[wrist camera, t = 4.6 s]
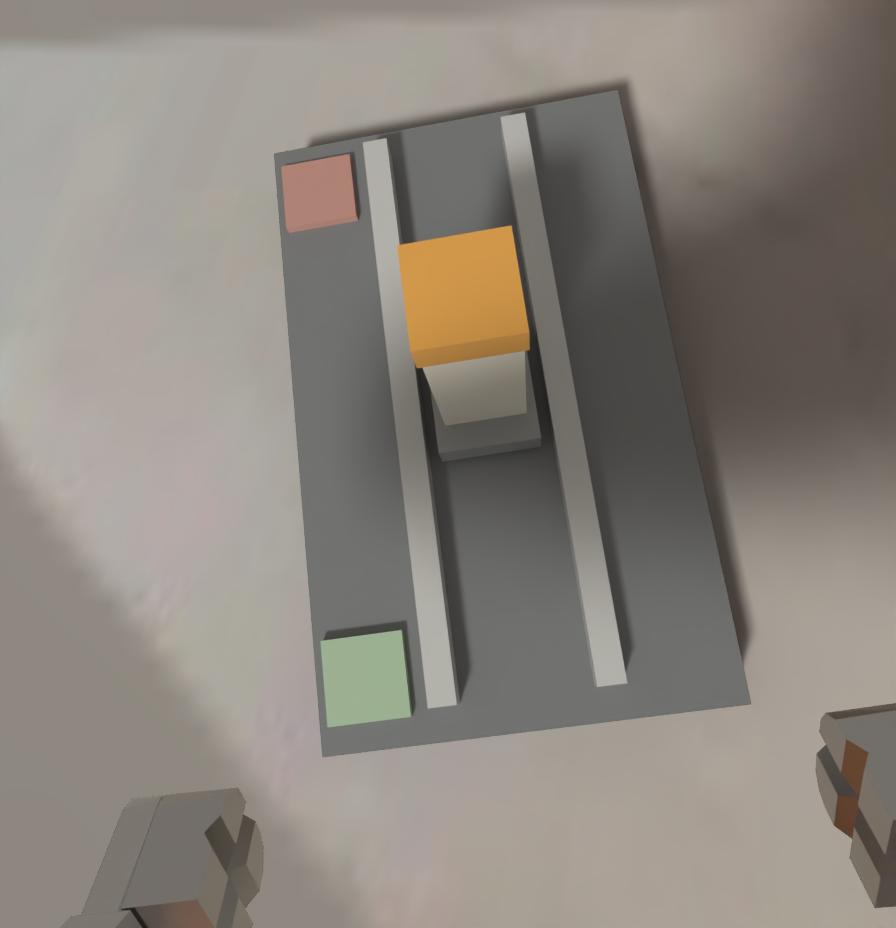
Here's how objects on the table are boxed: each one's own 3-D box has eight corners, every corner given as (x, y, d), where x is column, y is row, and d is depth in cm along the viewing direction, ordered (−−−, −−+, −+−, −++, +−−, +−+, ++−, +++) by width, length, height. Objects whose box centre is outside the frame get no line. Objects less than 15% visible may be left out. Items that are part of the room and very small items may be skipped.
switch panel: (733, 699, 23) (762, 706, 20) (339, 748, 24) (312, 761, 21) (611, 129, 28) (620, 68, 25) (291, 187, 29) (264, 135, 26)
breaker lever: (541, 446, 23) (543, 361, 16) (442, 461, 23) (404, 383, 16) (520, 325, 24) (515, 196, 17) (426, 340, 24) (384, 219, 17)
